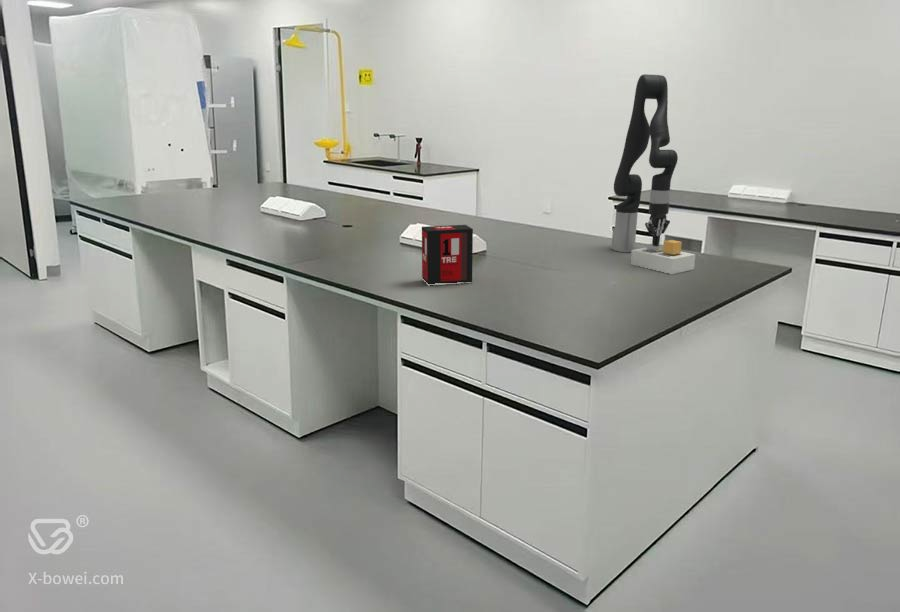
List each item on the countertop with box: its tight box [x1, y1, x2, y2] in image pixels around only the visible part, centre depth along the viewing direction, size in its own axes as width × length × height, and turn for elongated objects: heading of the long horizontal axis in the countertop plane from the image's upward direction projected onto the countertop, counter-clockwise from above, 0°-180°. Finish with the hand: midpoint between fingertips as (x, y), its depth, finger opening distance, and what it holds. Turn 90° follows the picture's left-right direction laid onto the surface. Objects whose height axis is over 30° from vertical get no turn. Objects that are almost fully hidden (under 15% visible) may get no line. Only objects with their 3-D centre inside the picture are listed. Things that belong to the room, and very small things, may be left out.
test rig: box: [629, 246, 696, 275], centre depth 272 cm, size 20×14×6 cm
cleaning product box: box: [421, 224, 474, 284], centre depth 247 cm, size 16×9×20 cm, turn 105°
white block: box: [645, 243, 663, 253], centre depth 274 cm, size 5×5×4 cm
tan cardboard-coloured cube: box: [662, 239, 683, 255], centre depth 267 cm, size 5×5×4 cm
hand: (655, 244), depth 274 cm, fingers closed
